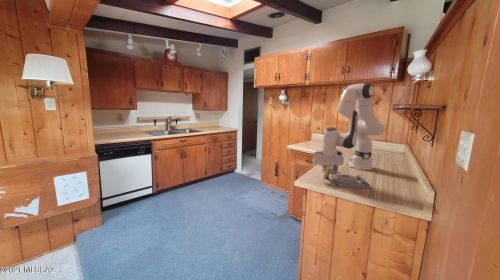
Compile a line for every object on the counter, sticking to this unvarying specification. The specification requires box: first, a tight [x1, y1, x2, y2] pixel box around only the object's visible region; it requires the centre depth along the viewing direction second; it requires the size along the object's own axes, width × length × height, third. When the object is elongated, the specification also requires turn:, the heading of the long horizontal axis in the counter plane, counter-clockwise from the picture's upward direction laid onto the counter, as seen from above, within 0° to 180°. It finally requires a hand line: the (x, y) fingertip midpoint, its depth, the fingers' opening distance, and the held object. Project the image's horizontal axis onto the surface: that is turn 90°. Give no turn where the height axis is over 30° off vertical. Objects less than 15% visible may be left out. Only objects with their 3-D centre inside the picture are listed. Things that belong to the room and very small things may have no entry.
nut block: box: [330, 172, 373, 190], centre depth 140 cm, size 18×20×4 cm
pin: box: [323, 165, 330, 180], centre depth 145 cm, size 3×3×12 cm
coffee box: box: [323, 165, 339, 175], centre depth 160 cm, size 9×6×16 cm
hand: (327, 170), depth 145 cm, fingers closed on pin, 3 cm apart
